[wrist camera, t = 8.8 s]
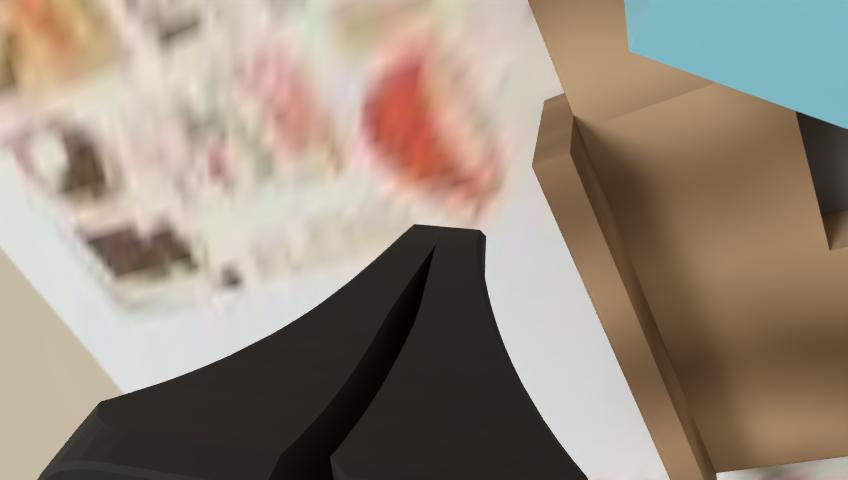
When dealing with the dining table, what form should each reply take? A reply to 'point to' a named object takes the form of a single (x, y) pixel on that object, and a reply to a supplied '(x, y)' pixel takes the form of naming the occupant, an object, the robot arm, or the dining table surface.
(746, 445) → the tray
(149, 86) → the dining table surface
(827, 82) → the block
